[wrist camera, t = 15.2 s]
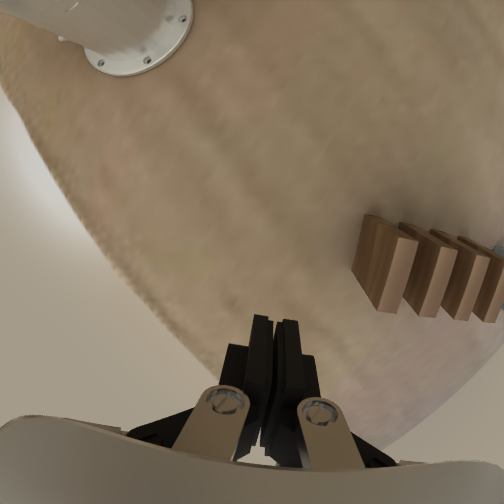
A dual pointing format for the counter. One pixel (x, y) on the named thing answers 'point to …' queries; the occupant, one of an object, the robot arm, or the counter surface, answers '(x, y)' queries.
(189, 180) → the counter surface
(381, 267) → the domino
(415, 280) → the domino
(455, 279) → the domino
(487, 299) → the domino
